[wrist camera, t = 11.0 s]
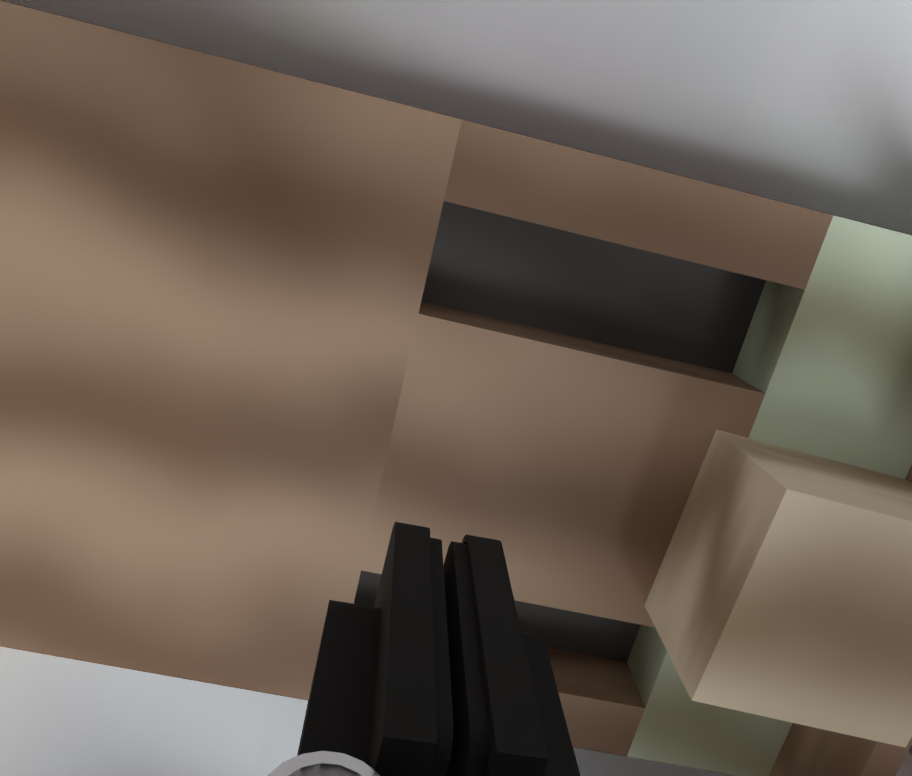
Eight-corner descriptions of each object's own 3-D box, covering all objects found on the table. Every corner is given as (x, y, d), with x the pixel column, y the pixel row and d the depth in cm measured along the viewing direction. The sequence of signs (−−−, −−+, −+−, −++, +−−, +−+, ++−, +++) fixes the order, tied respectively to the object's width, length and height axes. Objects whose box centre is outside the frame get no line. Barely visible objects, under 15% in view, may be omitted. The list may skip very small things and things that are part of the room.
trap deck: (-212, -43, 17) (-499, -149, 12) (967, 259, 20) (1154, 282, 15) (-191, 555, 22) (-389, 668, 17) (759, 729, 25) (845, 872, 20)
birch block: (716, 429, 19) (787, 489, 15) (904, 479, 19) (1019, 549, 16) (644, 605, 20) (691, 700, 17) (820, 647, 21) (905, 747, 17)
